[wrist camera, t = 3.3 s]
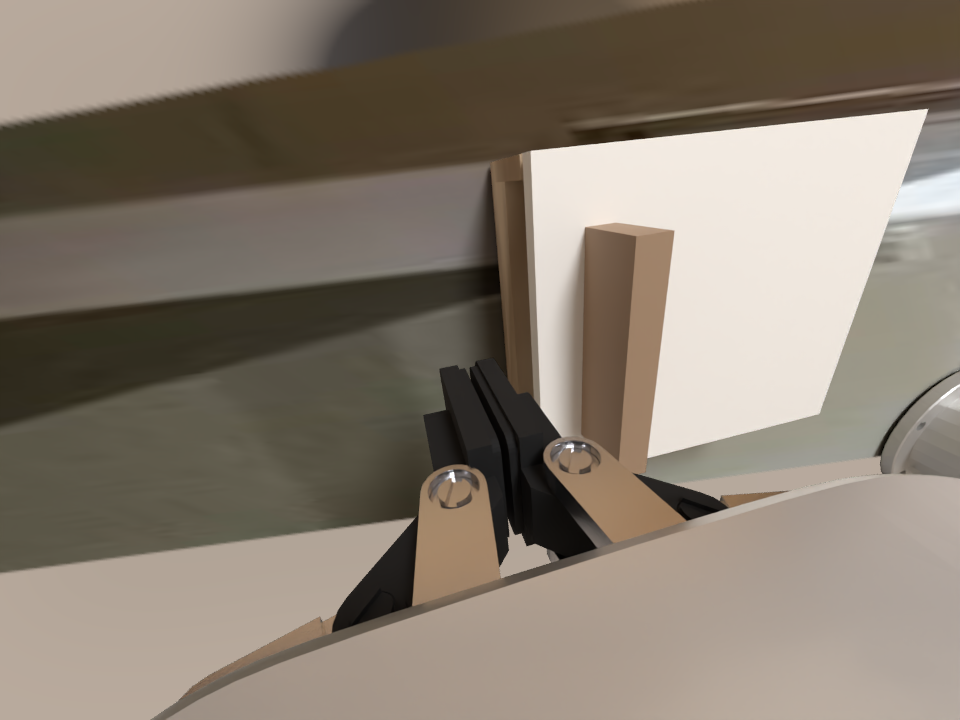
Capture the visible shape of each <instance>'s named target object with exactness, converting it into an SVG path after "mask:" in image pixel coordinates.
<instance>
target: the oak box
mask: <svg viewBox="0 0 960 720" xmlns="http://www.w3.org/2000/svg"><path fill="white" fill-rule="evenodd" d="M490 166H491V178H492V190H493V202H494V215H495V227H496V239H497V251H498V264H499V276H500V288H501V301H502V313H503V325H504V337H505V350H506V362H507V374H508V381H509V382H510V384H511V385H512V387H513V388H514V390H515V391H516V393H517V394H521V393H525V392H529V393H530V394H531V396H532V397H533V398H534V389H533V368H532V347H531V326H530V305H529V284H528V262H527V241H526V220H525V199H524V178H523V157H522V154H519V155H515V156H511V157H508V158H504V159H501V160H497V161H494V162H490Z"/></svg>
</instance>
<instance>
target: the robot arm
mask: <svg viewBox="0 0 960 720" xmlns="http://www.w3.org/2000/svg"><path fill="white" fill-rule="evenodd" d="M440 377H441V382H442V388H443V394H444V400H445V406H446V410H444V411H440V412H435V413H431V414H426V415H423V416H424V422H425V427H426V432H427V437H428V443H429V448H430V453H431V459H432V464H433V469H434V473H432V474H431V475H430V476H429V477H428V478H427V479H426V481H425V482H424V483H423V485H422V489H421V492H420V506H419V515H418V516H417V517H416V518H415V519H414V520H413V522H412V523H411V524H410V525H409V526H408V527H407V529H406V530H405V531H404V532H403V533H402V534H401V536H400V537H399V538H398V539H397V540H396V541H395V542H394V544H393V545H392V546H391V547H390V548H389V549H388V551H387V552H386V553H385V554H384V555H383V557H381V559H380V560H379V561H378V562H377V563H376V564H375V566H374V567H373V568H372V569H371V570H370V571H369V572H368V574H367V575H366V576H365V577H364V578H363V579H362V581H361V582H360V583H359V584H358V585H357V587H356V588H355V589H354V590H353V591H352V592H351V593H350V594H349V596H348V597H347V598H346V600H345V601H344V602H343V604H342V605H341V607H340V608H339V610H338V612H337V614H336V615H335V616H333V617H331V618H329V619H327V620H325V621H323V622H322V620H321V618H320V617H318V618H316V619H314V620H312V621H310V622H309V623H307V624H305V625H303V626H301V627H299V628H298V629H296V630H293V631H292V632H290V633H288V634H286V635H284V636H282V637H280V638H278V639H276V640H274V641H273V642H271V643H269V644H267V645H265V646H263V647H261V648H260V649H258V650H256V651H254V652H252V653H250V654H248V655H246V656H244V657H242V658H240V659H238V660H237V661H235V662H233V663H231V664H229V665H227V666H225V667H223V668H221V669H220V670H218V671H216V672H214V673H212V674H210V675H208V676H207V677H205V678H204V679H202V680H201V681H200V682H198V683H197V684H195V685H194V686H192V687H191V688H190V689H189V690H188V691H187V692H186V693H185V694H184V695H183V696H182V697H181V698H180V699H179V701H178V702H176V703H175V704H173V705H172V706H170V707H169V708H167V709H166V710H164V711H163V712H161V713H160V714H158V715H157V716H155V717H154V718H153V719H151V720H960V371H959V372H957V373H955V374H953V375H952V376H950V377H948V378H946V379H945V380H943V381H942V382H940V383H939V384H937V385H936V386H935V387H933V388H932V389H931V390H929V391H928V392H927V393H926V394H925V395H924V396H922V397H921V398H920V399H919V400H918V401H917V402H916V403H915V404H914V405H913V406H912V407H911V408H910V409H909V410H908V411H907V413H906V414H905V415H904V416H903V417H902V419H901V420H900V421H899V422H898V424H897V425H896V427H895V428H894V430H893V431H892V432H891V434H890V436H889V438H888V440H887V442H886V444H885V446H884V449H883V452H882V455H881V462H880V466H881V472H882V474H880V475H866V476H858V477H851V478H845V479H838V480H833V481H829V482H825V483H820V484H816V485H811V486H807V487H802V488H799V489H795V490H792V491H779V492H764V493H751V494H736V495H722V496H721V498H720V501H718V500H717V499H715V498H714V497H711V496H709V495H706V494H703V493H701V492H697V491H694V490H691V489H687V488H684V487H680V486H677V485H673V484H670V483H666V482H663V481H659V480H656V479H652V478H649V477H645V476H642V475H638V474H635V473H631V472H630V471H629V470H628V469H627V468H626V467H624V466H623V465H622V464H621V463H620V462H619V461H618V460H616V459H615V458H614V457H613V456H612V455H611V454H610V453H608V452H607V451H606V450H605V449H604V448H603V447H602V446H600V445H599V444H597V443H596V442H594V441H592V440H589V439H586V438H582V437H576V436H572V437H563V438H562V437H561V435H560V434H559V433H558V431H557V430H556V429H555V427H554V426H553V424H552V423H551V422H550V420H549V419H548V418H547V416H546V415H545V414H544V412H543V411H542V409H541V408H540V407H539V405H538V404H537V403H536V401H535V400H534V398H533V397H532V396H531V394H530V393H529V392H525V393H521V394H517V393H516V391H515V390H514V388H513V387H512V385H511V384H510V382H509V381H508V379H507V378H506V376H505V375H504V373H503V372H502V370H501V369H500V367H499V366H498V364H497V363H496V361H495V360H494V358H490V359H485V360H480V361H476V362H475V366H474V367H470V377H471V380H470V378H469V376H468V374H467V372H466V369H465V368H464V369H459V368H458V366H457V365H456V366H451V367H446V368H441V369H440ZM508 519H509V522H510V525H511V527H512V530H513V532H514V534H515V535H517V534H521V533H522V536H523V538H524V541H525V543H526V546H529V545H533V544H537V545H540V546H542V547H544V548H546V549H547V555H548V557H549V559H550V561H551V563H549V564H546V565H543V566H540V567H536V568H533V569H530V570H527V571H524V572H520V573H517V574H514V575H511V576H508V577H505V578H501V577H500V569H499V567H500V565H501V564H502V562H503V560H504V558H505V556H506V555H507V553H508V551H509V548H508V538H507V537H509V527H508Z"/></svg>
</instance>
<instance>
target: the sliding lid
mask: <svg viewBox="0 0 960 720" xmlns="http://www.w3.org/2000/svg"><path fill="white" fill-rule="evenodd" d="M927 111H928V109H924V110H915V111H905V112H896V113H886V114H877V115H867V116H858V117H848V118H839V119H830V120H820V121H811V122H801V123H792V124H782V125H773V126H763V127H754V128H744V129H735V130H725V131H716V132H706V133H697V134H688V135H678V136H669V137H659V138H650V139H640V140H631V141H621V142H612V143H602V144H593V145H583V146H574V147H565V148H555V149H546V150H536V151H529V152H526V153H522V157H523V178H524V199H525V220H526V241H527V262H528V284H529V305H530V326H531V347H532V368H533V389H534V400H535V401H536V403H537V404H538V405H539V407H540V408H541V409H542V411H543V412H544V414H545V415H546V416H547V418H548V419H549V420H550V422H551V423H552V424H553V426H554V427H555V429H556V430H557V431H558V433H559V434H560V435H561V437H562V438H563V437H572V436H576V437H582V438H586V439H589V440H592V441H594V442H596V443H597V444H599V445H600V446H602V447H603V448H604V449H605V450H606V451H607V452H608V453H610V454H611V455H612V456H613V457H614V458H615V459H616V460H618V461H619V462H620V463H621V464H622V465H623V466H624V467H626V468H627V469H628V470H629V471H630V472H631V473H635V474H641V473H644V472H646V464H647V458H650V457H654V456H658V455H662V454H666V453H670V452H673V451H677V450H681V449H685V448H689V447H693V446H697V445H701V444H704V443H708V442H712V441H716V440H720V439H724V438H728V437H732V436H735V435H739V434H743V433H747V432H751V431H755V430H759V429H763V428H767V427H770V426H774V425H778V424H782V423H786V422H790V421H794V420H798V419H801V418H805V417H809V416H813V415H817V414H819V413H820V410H821V407H822V404H823V402H824V399H825V396H826V393H827V391H828V388H829V385H830V382H831V379H832V377H833V374H834V371H835V368H836V365H837V363H838V360H839V357H840V354H841V351H842V349H843V346H844V343H845V340H846V337H847V335H848V332H849V329H850V326H851V323H852V321H853V318H854V315H855V312H856V310H857V307H858V304H859V301H860V298H861V296H862V293H863V290H864V287H865V284H866V282H867V279H868V276H869V273H870V270H871V268H872V265H873V262H874V259H875V256H876V254H877V251H878V248H879V245H880V243H881V240H882V237H883V234H884V231H885V229H886V226H887V223H888V220H889V217H890V215H891V212H892V209H893V206H894V203H895V201H896V198H897V195H898V192H899V189H900V187H901V184H902V181H903V178H904V176H905V173H906V170H907V167H908V164H909V162H910V159H911V156H912V153H913V150H914V148H915V145H916V142H917V139H918V136H919V134H920V131H921V128H922V125H923V122H924V120H925V117H926V114H927Z"/></svg>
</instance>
